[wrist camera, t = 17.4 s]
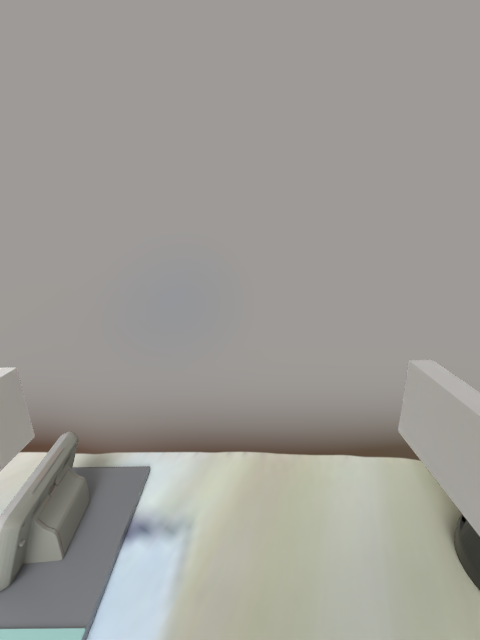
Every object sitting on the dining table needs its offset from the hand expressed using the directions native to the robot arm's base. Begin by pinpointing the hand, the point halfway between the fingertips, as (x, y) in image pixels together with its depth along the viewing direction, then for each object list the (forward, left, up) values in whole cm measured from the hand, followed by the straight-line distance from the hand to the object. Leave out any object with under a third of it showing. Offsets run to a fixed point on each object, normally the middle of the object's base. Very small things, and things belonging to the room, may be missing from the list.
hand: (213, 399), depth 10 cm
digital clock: (+27, -22, -34) cm, 49 cm away
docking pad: (+25, -22, -35) cm, 48 cm away
